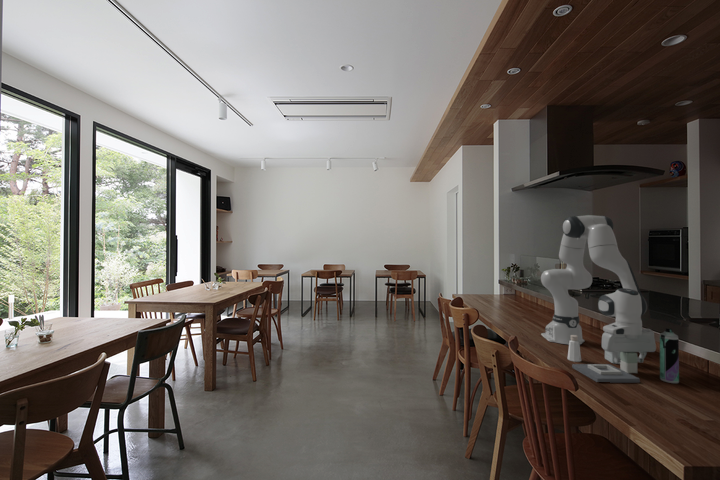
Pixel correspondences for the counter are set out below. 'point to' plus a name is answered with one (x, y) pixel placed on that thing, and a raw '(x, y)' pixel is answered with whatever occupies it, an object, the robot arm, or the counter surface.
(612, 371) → the square peg socket board
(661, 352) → the spray can
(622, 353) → the block stack
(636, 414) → the counter surface
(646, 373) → the counter surface
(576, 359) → the pepper shaker
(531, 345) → the counter surface
